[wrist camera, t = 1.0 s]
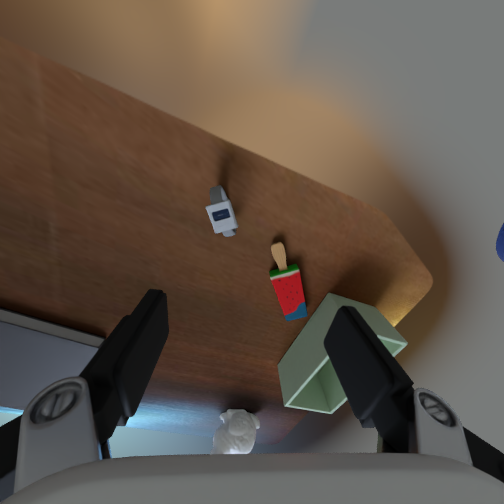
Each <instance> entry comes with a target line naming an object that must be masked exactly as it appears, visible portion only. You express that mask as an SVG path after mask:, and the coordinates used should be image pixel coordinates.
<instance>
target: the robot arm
mask: <svg viewBox="0 0 504 504" xmlns="http://www.w3.org/2000/svg"><path fill="white" fill-rule="evenodd" d="M168 333H169V325H168V310H167V296H166V293H163V291H162V290H156V289H149V290H148V292H147V293H146V294H145V296H144V297H143V298H142V300H141V301H140V303H139V304H138V305H137V307H136V308H135V309H134V311H133V312H132V314H131V315H126V316H124V317H123V318H122V320H121V321H120V322H119V324H118V325H117V326H116V327H115V329H114V330H113V331H112V333H111V334H110V335H109V337H108V338H107V339H106V341H105V342H104V343H103V344H102V346H101V347H100V348H99V350H98V351H97V352H96V354H95V355H94V356H93V358H92V359H91V360H90V362H89V363H88V364H87V365H86V367H85V368H84V369H83V371H82V372H81V373H80V375H79V376H72V377H66V378H63V379H61V380H58V381H56V382H54V383H52V384H51V385H49V386H47V387H46V388H44V389H43V390H42V391H40V392H39V393H38V394H37V395H36V396H35V397H34V398H33V399H32V400H31V401H30V402H29V404H28V405H27V407H26V408H25V410H24V412H23V414H22V415H21V416H19V417H17V418H15V419H14V420H12V421H10V422H8V423H6V424H4V425H3V426H1V427H0V504H504V454H503V453H502V452H500V451H499V450H497V449H496V448H494V447H493V446H491V445H490V444H488V443H487V442H485V441H484V440H482V439H481V438H479V437H478V436H476V435H475V434H473V433H472V432H470V431H469V430H467V429H466V428H464V427H463V426H462V423H461V421H460V419H459V417H458V415H457V414H456V412H455V411H454V410H453V409H452V407H451V406H450V405H449V404H448V403H447V402H446V401H444V400H443V399H442V398H441V397H439V396H438V395H437V394H435V393H433V392H432V391H430V390H428V389H424V388H417V389H416V390H414V389H413V387H412V385H413V384H414V383H413V381H412V380H411V379H410V378H409V376H408V375H407V374H406V373H405V371H404V370H403V369H402V367H401V366H400V365H399V363H398V362H397V361H396V360H395V358H394V357H393V356H392V354H391V353H390V352H389V350H388V349H387V348H386V347H385V345H384V344H383V343H382V341H381V340H380V339H379V338H378V336H377V335H376V334H375V332H374V331H373V330H372V329H371V327H370V326H369V325H368V323H367V322H366V321H365V320H364V318H363V317H362V316H361V314H360V313H359V312H358V311H357V309H356V308H355V307H353V306H341V308H339V309H338V310H337V312H336V315H335V317H334V319H333V321H332V323H331V325H330V328H329V330H328V332H327V334H326V336H325V338H324V342H323V344H324V348H325V350H326V352H327V354H328V357H329V359H330V361H331V363H332V366H333V368H334V370H335V372H336V375H337V377H338V379H339V381H340V384H341V386H342V388H343V390H344V393H345V395H346V397H347V399H348V402H349V404H350V406H351V408H352V411H353V413H354V415H355V416H356V418H357V419H359V421H360V423H361V425H362V427H363V428H374V427H376V429H377V431H378V444H377V453H284V454H283V453H275V454H207V455H206V454H202V455H201V454H200V455H160V456H134V457H122V458H112V455H111V450H110V445H109V440H108V439H109V438H110V437H111V436H112V434H113V432H114V430H115V428H116V426H125V425H126V423H127V421H128V419H129V417H132V416H134V414H135V413H136V411H137V408H138V406H139V403H140V401H141V399H142V396H143V394H144V392H145V389H146V387H147V385H148V382H149V380H150V378H151V375H152V373H153V370H154V368H155V366H156V363H157V361H158V359H159V356H160V354H161V352H162V349H163V347H164V344H165V342H166V340H167V337H168Z"/></svg>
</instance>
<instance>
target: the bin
mask: <svg viewBox="0 0 504 504" xmlns="http://www.w3.org/2000/svg"><path fill="white" fill-rule="evenodd" d="M341 306H353V307H355V308H356V309H357V311H358V312H359V313H360V314H361V316H362V317H363V318H364V320H365V321H366V322H367V323H368V325H369V326H370V327H371V329H372V330H373V331H374V332H375V334H376V335H377V336H378V338H379V339H380V340H381V341H382V343H383V344H384V345H385V347H386V348H387V349H388V350H389V352H390V353H391V354H392V356H393V357H394V356H395V355H396V354H397V353H398V352H399V351H401V350H402V349H403V348H404V347H405V346H406V345H407V344H408V343H407V342H406V340H404V338H403V337H402V336H401V335H400V334H399V333H398V332H397V331H396V329H395V328H394V327H393V326H392V325H391V324H390V323H389V322H388V321H387V319H386V318H385V317H384V316H383V315H382V314H381V313H380V312H379V311H378V309H377V308H376V307H373V306H370V305H367V304H364V303H361V302H358V301H354V300H351V299H348V298H345V297H342V296H338V295H335V294H332V293H328V294H327V295H326V297H325V298H324V300H323V301H322V302H321V304H320V305H319V307H318V308H317V310H316V311H315V312H314V314H313V315H312V317H311V318H310V320H309V321H308V322H307V324H306V325H305V327H304V328H303V329H302V331H301V332H300V334H299V335H298V337H297V338H296V339H295V341H294V342H293V344H292V345H291V347H290V348H289V349H288V351H287V352H286V354H285V355H284V357H283V358H282V359H281V361H280V362H279V364H278V371H279V377H280V383H281V389H282V395H283V401H284V406H286V407H292V408H298V409H305V410H311V411H317V412H324V413H329V414H332V413H333V412H334V411H335V410H336V409H337V408H338V407H340V406H341V405H342V404H343V403H344V402H345V401H346V400H347V397H346V395H345V393H344V390H343V388H342V386H341V384H340V381H339V379H338V377H337V375H336V372H335V370H334V368H333V366H332V363H331V361H330V359H329V357H328V354H327V352H326V350H325V348H324V344H323V342H324V338H325V336H326V334H327V332H328V330H329V328H330V325H331V323H332V321H333V319H334V317H335V315H336V312H337V310H338V309H339V308H341Z"/></svg>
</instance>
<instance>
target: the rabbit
mask: <svg viewBox="0 0 504 504" xmlns="http://www.w3.org/2000/svg"><path fill="white" fill-rule="evenodd" d="M220 418H221V419H222V420H223V422H224V424H222V425H220V427H219V428H218V429H217V430H216V432H215V434H214V436H213V448H212V450H211V453H210V454H248V453H249V452H250V451H251V450H252V448H253V445H254V443H255V438H256V428H257V429H258V428H259V427H260V421H259V419H258V417H257V416H256V415H254V414H252V413H248V412H246V410H243V409H228V410H227V412H225V413H222V414H220Z"/></svg>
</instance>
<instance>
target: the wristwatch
mask: <svg viewBox="0 0 504 504" xmlns="http://www.w3.org/2000/svg"><path fill="white" fill-rule="evenodd" d="M210 200H211V205H208V206H206V210H207V212H208V215H209V218H210V220H211V223H212V225H213V228H214V231H215V233H220V232H222V233H223V235H224V236H226V237H228V236H232V235H235V234H236V228H237V227H238V224H237V221H236V218H235V215H234V212H233V208H232V205H231V202H230V200H228V199H227V196H226V194H225V191H224V189H223V188H222V186H221V185H219V186H216V187H212V188H210Z"/></svg>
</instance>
